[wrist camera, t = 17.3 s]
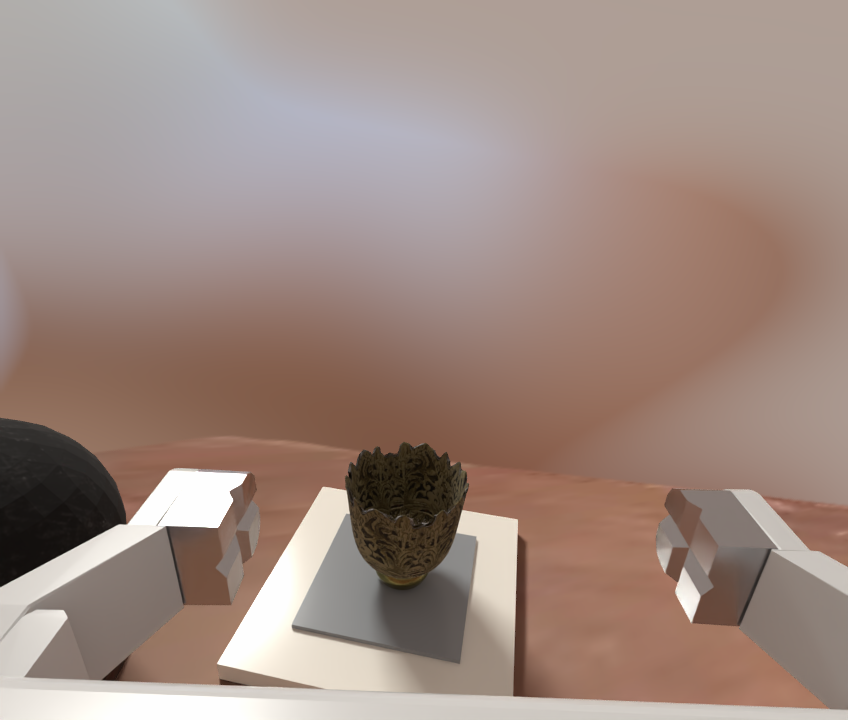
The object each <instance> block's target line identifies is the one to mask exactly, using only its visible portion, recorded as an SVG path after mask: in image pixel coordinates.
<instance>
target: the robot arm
mask: <svg viewBox="0 0 848 720" xmlns="http://www.w3.org/2000/svg"><path fill="white" fill-rule="evenodd" d="M256 490H257V489H256V483H255V477H254V475H253V474H252V473H251V472H240V471H224V470H207V469H201V470H199V469H184V468H175V469H173V470H170V471H169V472H168V473H167V474H166V476H165V477H164V478H163V479H162V481H161V482H160V483H159V485H158V486H157V487H156V488H155V490H154V491H153V492H152V494H151V495H150V496H149V497H148V499H147V500H146V501H145V503H144V504H143V505H142V506H141V508H140V509H139V510H138V511H137V513H136V514H135V515H134V517H133V518H132V519H131V520H130V522H129V523H128V524H127V525H121V524H119V525H117V526H115V527H113V528H111V529H109V530H108V531H106V532H104V533H102V534H100V535H98V536H96V537H94V538H92V539H91V540H89V541H87V542H85V543H83V544H81V545H79V546H77V547H76V548H74V549H72V550H70V551H68V552H66V553H64V554H62V555H60V556H59V557H57V558H55V559H53V560H51V561H49V562H47V563H45V564H44V565H42V566H40V567H38V568H36V569H34V570H32V571H30V572H28V573H27V574H25V575H23V576H21V577H19V578H17V579H15V580H13V581H11V582H10V583H8V584H6V585H4V586H2V587H0V720H848V567H847V566H845V565H843V564H841V563H839V562H837V561H836V560H834V559H832V558H830V557H828V556H826V555H825V554H823V553H821V552H819V551H810V550H809V549H808V548H807V547H806V546H805V545H804V543H803V542H802V541H801V540H800V539H799V538H798V537H797V536H796V535H795V533H794V532H793V531H792V530H791V529H790V528H789V527H788V526H787V525H786V523H785V522H784V521H783V520H782V519H781V518H780V517H779V516H778V514H777V513H776V512H775V511H774V510H773V509H772V508H771V507H770V506H769V504H768V503H767V502H766V501H765V500H764V499H763V498H762V497H761V496H760V494H758V493H757V492H755V491H753V490H732V489H725V490H700V489H672V490H671V491H670V492H669V493H668V495H667V498H666V501H665V507H666V509H667V511H668V512H669V514H670V515H668V516H667V517H666V518H665V519H664V520H662V521H661V522H660V523H659V526H658V530H657V535H656V548H657V554H658V558H659V561H660V564H661V566H662V568H663V570H664V572H665V573H666V574H667V575H669V576H670V577H671V578H673V579H674V580H675V581H677V582H678V585H677V588H676V592H675V593H676V595H677V597H678V599H679V600H680V602H681V604H682V606H683V608H684V610H685V612H686V614H687V616H688V617H689V619H690V621H691V623H697V624H712V625H726V626H740V627H739V629H740V630H741V631H742V632H743V633H745V634H746V635H747V636H748V637H749V638H750V639H751V640H752V641H754V642H755V643H756V644H757V645H758V646H759V647H760V648H762V649H763V650H764V651H765V652H766V653H767V654H768V655H769V656H771V657H772V658H773V659H774V660H775V661H776V662H777V663H779V664H780V665H781V666H782V667H783V668H784V669H785V670H786V671H788V672H789V673H790V674H791V675H792V676H793V677H794V678H795V679H797V680H798V681H799V682H800V683H801V684H802V685H803V686H805V687H806V688H807V689H808V690H809V691H810V692H811V693H812V694H814V695H815V696H816V697H817V698H818V699H819V700H820V701H822V702H823V703H824V704H825V705H826V706H827V707H828V708H829V709H814V708H789V707H763V706H738V705H712V704H687V703H662V702H637V701H612V700H587V699H562V698H537V697H511V696H486V695H460V694H435V693H409V692H384V691H358V690H333V689H307V688H282V687H256V686H231V685H205V684H180V683H154V682H129V681H103V680H102V679H103V678H104V677H105V676H106V675H108V674H109V673H110V672H111V671H112V670H113V669H114V668H115V667H117V666H118V665H119V664H120V663H121V662H122V661H123V660H125V659H126V658H127V657H128V656H129V655H130V654H131V653H133V652H134V651H135V650H136V649H137V648H138V647H139V646H141V645H142V644H143V643H144V642H145V641H146V640H147V639H149V638H150V637H151V636H152V635H153V634H154V633H155V632H156V631H158V630H159V629H160V628H161V627H162V626H163V625H164V624H166V623H167V622H168V621H169V620H170V619H171V618H172V617H174V616H175V615H176V614H177V613H178V612H179V611H180V610H182V609H183V608H184V605H231V604H232V602H233V600H234V598H235V595H236V593H237V591H238V588H239V586H240V584H241V581H242V579H243V577H244V573H243V565H242V564H243V563H244V562H246V561H247V560H249V559H250V558H251V557H252V555H253V553H254V550H255V548H256V545H257V541H258V536H259V531H260V513H259V507H258V506H257V505H256V504H255V503H254V502H253V501H252V498H253V496H254V494H255V492H256Z"/></svg>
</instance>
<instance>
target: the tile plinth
mask: <svg viewBox="0 0 848 720" xmlns="http://www.w3.org/2000/svg"><path fill="white" fill-rule="evenodd" d="M517 534H518V520H517V519H511V518H505V517H499V516H493V515H487V514H481V513H476V512H470V511H464V510H462V513H461V517H460V521H459V524H458V528H457V532H456V535H455V538H454V541H453V544H452V546H451V548H450V550H449V552H448V554H447V556H446V557H445V558H444V560H443V561H442V562H441V563H440V564H439V565H438V566H437V567H436V568H435V569H433V570H432V571H430V572H429V573H428V575H427V577H426V578H425V580H424V581H423V582H422V583H421V584H420V585H418V586H417V587H415V588H412V589H409V590H396V589H392V588H390V587H388V586H386V585H385V584H384V583H383V582H382V581H381V580H380V579H379V577H378V575H377V573H376V571H375V569H373V568H372V567H371V566H370V565H369V564H368V563H367V562H366V561H365V560H364V559H363V557H362V556H361V554H360V552H359V550H358V548H357V545H356V543H355V539H354V535H353V531H352V525H351V519H350V512H349V505H348V497H347V491H346V490H340V489H334V488H328V487H323V488H322V489H321V491H320V493H319V494H318V496H317V498H316V499H315V501H314V503H313V505H312V506H311V508H310V510H309V511H308V513H307V515H306V516H305V518H304V520H303V521H302V523H301V525H300V526H299V528H298V530H297V531H296V533H295V535H294V536H293V538H292V540H291V541H290V543H289V545H288V546H287V548H286V550H285V551H284V553H283V555H282V556H281V558H280V560H279V561H278V563H277V565H276V566H275V568H274V570H273V571H272V573H271V575H270V576H269V578H268V580H267V581H266V583H265V585H264V586H263V588H262V590H261V591H260V593H259V595H258V596H257V598H256V600H255V601H254V603H253V605H252V606H251V608H250V610H249V611H248V613H247V615H246V616H245V618H244V620H243V621H242V623H241V625H240V626H239V628H238V630H237V631H236V633H235V635H234V636H233V638H232V640H231V641H230V643H229V645H228V646H227V648H226V650H225V651H224V653H223V655H222V656H221V658H220V660H219V661H218V663H217V667H218V674H219V679H223V680H227V681H231V682H236V683H240V684H244V685H248V686H256V687H282V688H307V689H333V690H358V691H384V692H409V693H435V694H460V695H486V696H511V697H513V681H514V644H515V608H516V571H517Z"/></svg>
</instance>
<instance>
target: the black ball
mask: <svg viewBox="0 0 848 720" xmlns="http://www.w3.org/2000/svg"><path fill="white" fill-rule="evenodd" d="M119 524H121V525H126V512H125V509H124V505H123V502H122V499H121V496H120V493H119V491H118V488H117V485H116V483H115V481H114V480H113V478H112V477H111V476H110V474H109V473H108V471H107V470H106V469H105V467H104V466H103V465H102V464H101V462H100V461H99V460H98V459H97V457H96V456H95V455H93V454H92V453H91V452H89V451H88V450H87V449H86V448H84V447H83V446H82V445H81V444H79V443H78V442H76V441H74V440H73V439H71V438H70V437H67V436H65V435H63V434H61V433H58V432H56V431H54V430H52V429H50V428H48V427H45V426H43V425H38V424H33V423H28V422H23V421H18V420H11V419H4V418H0V587H2V586H4V585H6V584H8V583H10V582H11V581H13V580H15V579H17V578H19V577H21V576H23V575H25V574H27V573H28V572H30V571H32V570H34V569H36V568H38V567H40V566H42V565H44V564H45V563H47V562H49V561H51V560H53V559H55V558H57V557H59V556H60V555H62V554H64V553H66V552H68V551H70V550H72V549H74V548H76V547H77V546H79V545H81V544H83V543H85V542H87V541H89V540H91V539H92V538H94V537H96V536H98V535H100V534H102V533H104V532H106V531H108V530H109V529H111V528H113V527H115V526H117V525H119ZM124 661H125V660H123V661H122V662H121V663H120V664H119V665H118V666H117V667H115V668H114V669H113V670H112V671H111V672H110V673H109V674H108V675H106V676H105V677H104V678H103V679H102V680H103V681H114V680H115V678H116V677H117V675H118V673H119V671H120V669H121V667H122V665H123V663H124Z"/></svg>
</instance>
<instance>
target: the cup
mask: <svg viewBox="0 0 848 720" xmlns="http://www.w3.org/2000/svg"><path fill="white" fill-rule="evenodd" d="M348 474H349V478H348V476H347V475H346V476H345V483H346V490H347V497H348V505H349V512H350V519H351V525H352V531H353V535H354V539H355V543H356V545H357V548H358V550H359V552H360V554H361V556H362V557H363V559H364V560H365V561H366V562H367V563H368V564H369V565H370V566H371V567H372V568H373V569H375V571H376V573H377V575H378V577H379V579H380V580H381V581H382V582H383V583H384V584H385V585H386V586H388V587H390V588H392V589H396V590H409V589H412V588H415V587H417V586H418V585H420V584H421V583H422V582H423V581H424V580H425V578H426V577H427V575H428V573H429V572H430V571H432V570H433V569H435V568H436V567H437V566H438V565H439V564H440V563H441V562H442V561H443V560H444V558H445V557H446V556H447V554H448V552H449V550H450V548H451V546H452V544H453V541H454V538H455V535H456V532H457V528H458V524H459V521H460V517H461V513H462V509H463V505H464V501H465V497H466V493H467V491H468V487H469V483H467V473H466V471H462V469H461V463H460V462H458V463H456V464H455V465H453V466H451V467H450V460H449V457H448V454H447V452H445V453H444V454H443V455H442V457H438V456H437V454H436V452H435V450H433V449H432V448H431V447H430V446H429V445H428V444H426V443H423V444H420V445H418V446H415V447H412V446H411V445H410V444H409V443H405V442H403V443H402V444H401V445H400V448H399V451H398V454H395V455H393V453H388V454H387V456H384V455H383V454H382V453H381V452H380V447H378V446H377V447H376V448H375V449H374V451H373V454H372V453H371V452H369V451H367V450H363V451H362V452H361V453H360V454H359V457H358V459H357V464H356V466H355V465H354V464H353V463H352V462H350V464H349V469H348ZM465 490H466V491H465Z"/></svg>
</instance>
